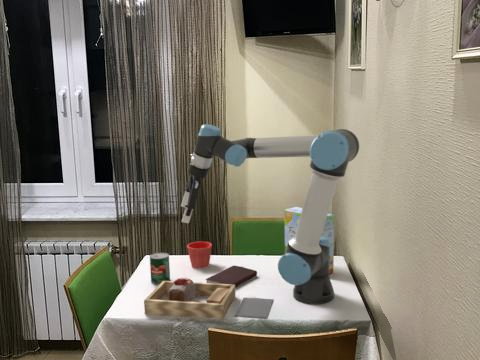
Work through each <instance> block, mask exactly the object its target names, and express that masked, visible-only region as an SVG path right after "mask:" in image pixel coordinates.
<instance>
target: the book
mask: <svg viewBox="0 0 480 360" xmlns="http://www.w3.org/2000/svg"><path fill="white" fill-rule="evenodd" d="M257 275H258V271H257V270H255V269H251V268H247V267H244V266H238V265H231V266H229V267H227V268H225V269H223V270H221V271H220V272H218V273H215V274H213V275H211V276H210V277H207V278H206V279H205V281H206V283H215V284H233V285H235V289H236V288H238V287H240V286H241V285H243V284H244V283H247V282H249V281H251V280H252V279H254V278H256V277H257Z"/></svg>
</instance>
